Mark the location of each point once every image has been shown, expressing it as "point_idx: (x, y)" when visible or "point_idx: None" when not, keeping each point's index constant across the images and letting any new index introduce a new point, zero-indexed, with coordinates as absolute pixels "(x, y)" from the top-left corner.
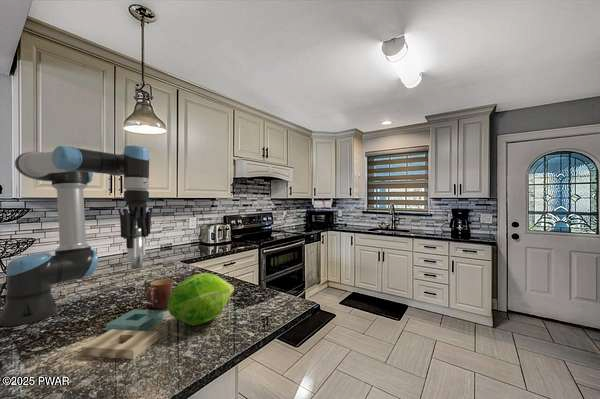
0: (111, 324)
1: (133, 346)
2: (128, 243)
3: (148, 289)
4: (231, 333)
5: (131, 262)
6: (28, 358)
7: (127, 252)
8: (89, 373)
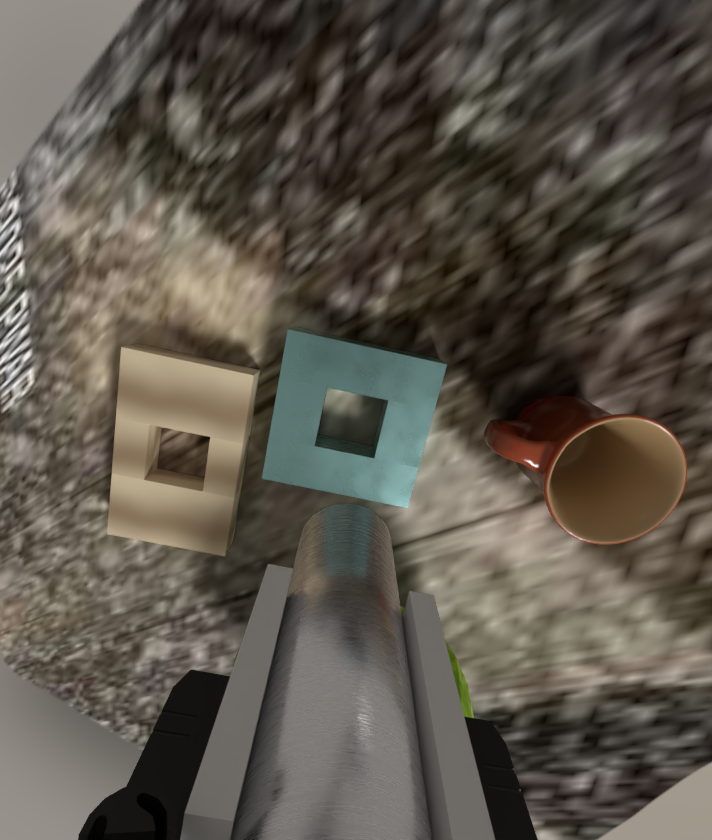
0: (284, 355)
1: (127, 523)
2: (160, 763)
3: (514, 438)
4: None
5: (297, 559)
6: (116, 146)
7: (255, 605)
8: (51, 434)
